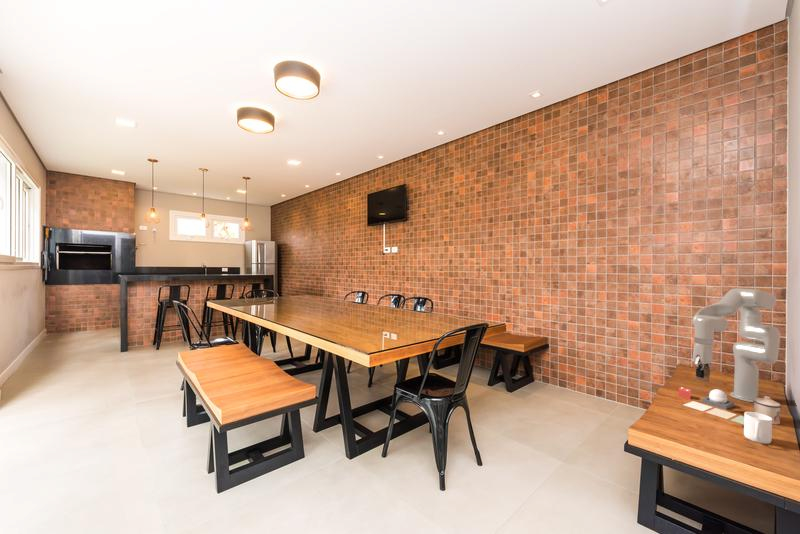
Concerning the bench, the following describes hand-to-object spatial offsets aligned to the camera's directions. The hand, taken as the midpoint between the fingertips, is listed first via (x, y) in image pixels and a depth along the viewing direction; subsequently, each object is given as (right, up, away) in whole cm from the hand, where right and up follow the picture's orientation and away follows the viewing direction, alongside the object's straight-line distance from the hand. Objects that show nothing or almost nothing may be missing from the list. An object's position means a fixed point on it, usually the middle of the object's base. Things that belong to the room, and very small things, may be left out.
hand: (702, 376), depth 177 cm
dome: (+12, -16, +5) cm, 20 cm away
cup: (-4, -18, -30) cm, 36 cm away
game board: (+3, -18, -7) cm, 19 cm away
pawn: (0, -2, 0) cm, 2 cm away
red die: (+3, -17, +14) cm, 22 cm away
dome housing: (+12, -17, +5) cm, 22 cm away
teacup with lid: (+22, -18, -11) cm, 30 cm away
